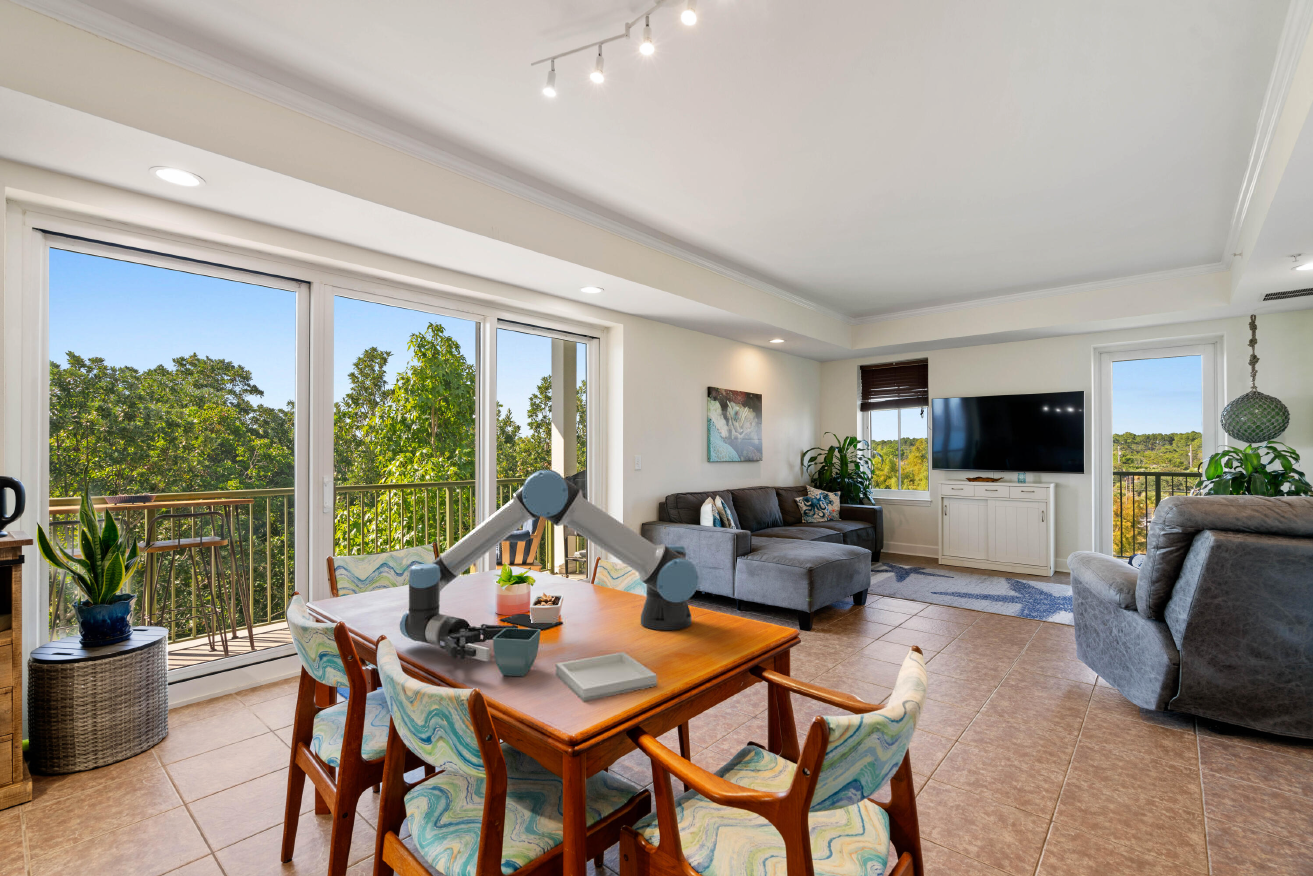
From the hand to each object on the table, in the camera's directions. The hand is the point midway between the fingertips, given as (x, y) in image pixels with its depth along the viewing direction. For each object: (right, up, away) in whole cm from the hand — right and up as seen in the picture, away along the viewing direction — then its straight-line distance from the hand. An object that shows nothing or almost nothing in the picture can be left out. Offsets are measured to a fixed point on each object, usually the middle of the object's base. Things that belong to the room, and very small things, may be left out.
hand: (510, 646), depth 141 cm
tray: (+22, -6, -5) cm, 24 cm away
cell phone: (-4, -7, +41) cm, 42 cm away
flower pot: (+2, -6, -1) cm, 6 cm away
